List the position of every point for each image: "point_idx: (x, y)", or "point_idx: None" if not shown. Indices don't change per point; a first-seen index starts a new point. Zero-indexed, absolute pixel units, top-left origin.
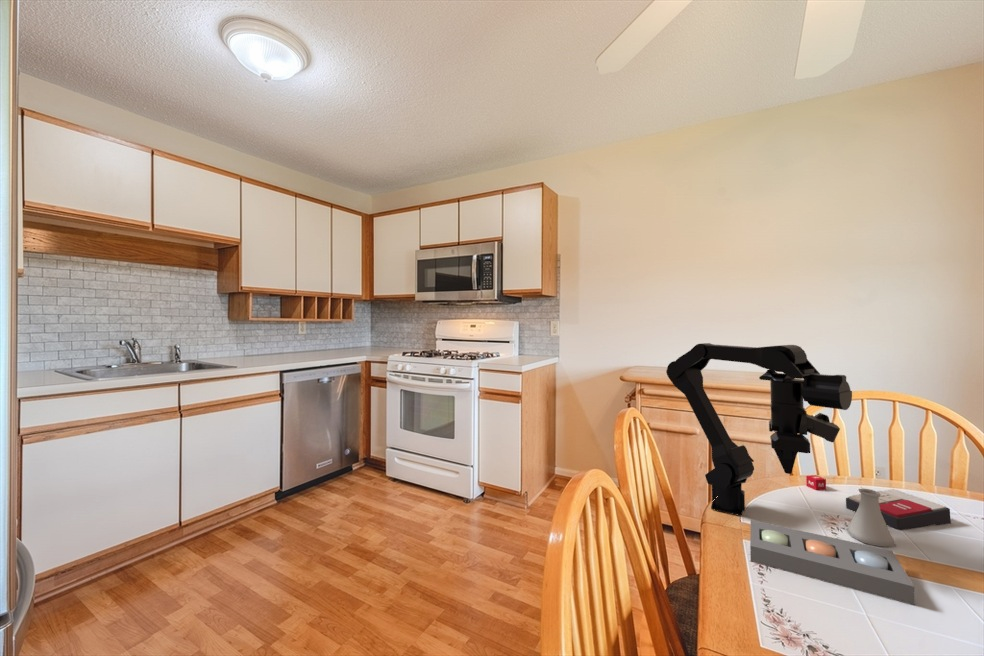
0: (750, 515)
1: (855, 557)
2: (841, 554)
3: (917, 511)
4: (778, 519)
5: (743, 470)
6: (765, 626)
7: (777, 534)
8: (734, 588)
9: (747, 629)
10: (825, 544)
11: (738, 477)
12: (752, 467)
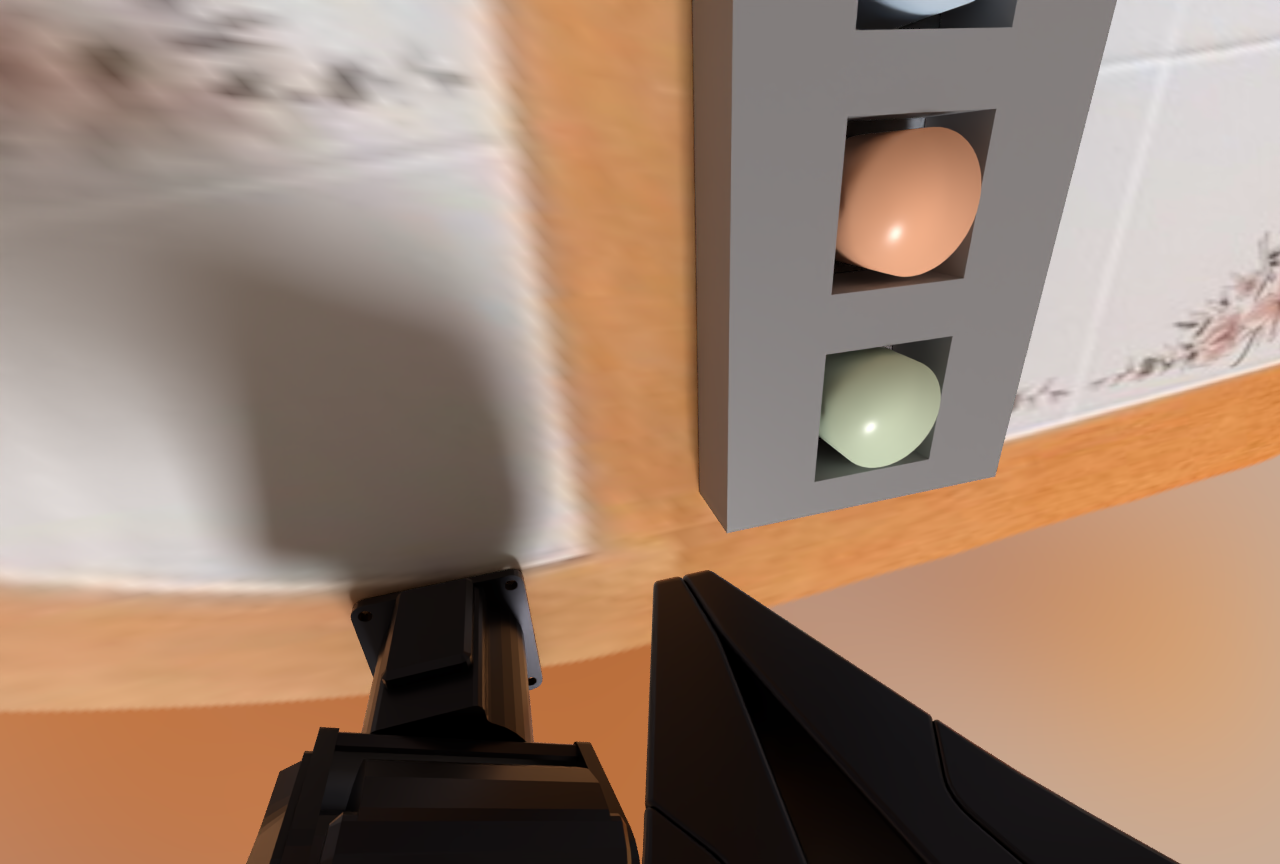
0: (463, 540)
1: (942, 10)
2: (943, 93)
3: None
4: (398, 417)
5: (550, 848)
6: (1250, 353)
7: (875, 405)
8: (1109, 449)
9: (1262, 388)
10: (894, 175)
11: (601, 796)
12: (367, 851)
